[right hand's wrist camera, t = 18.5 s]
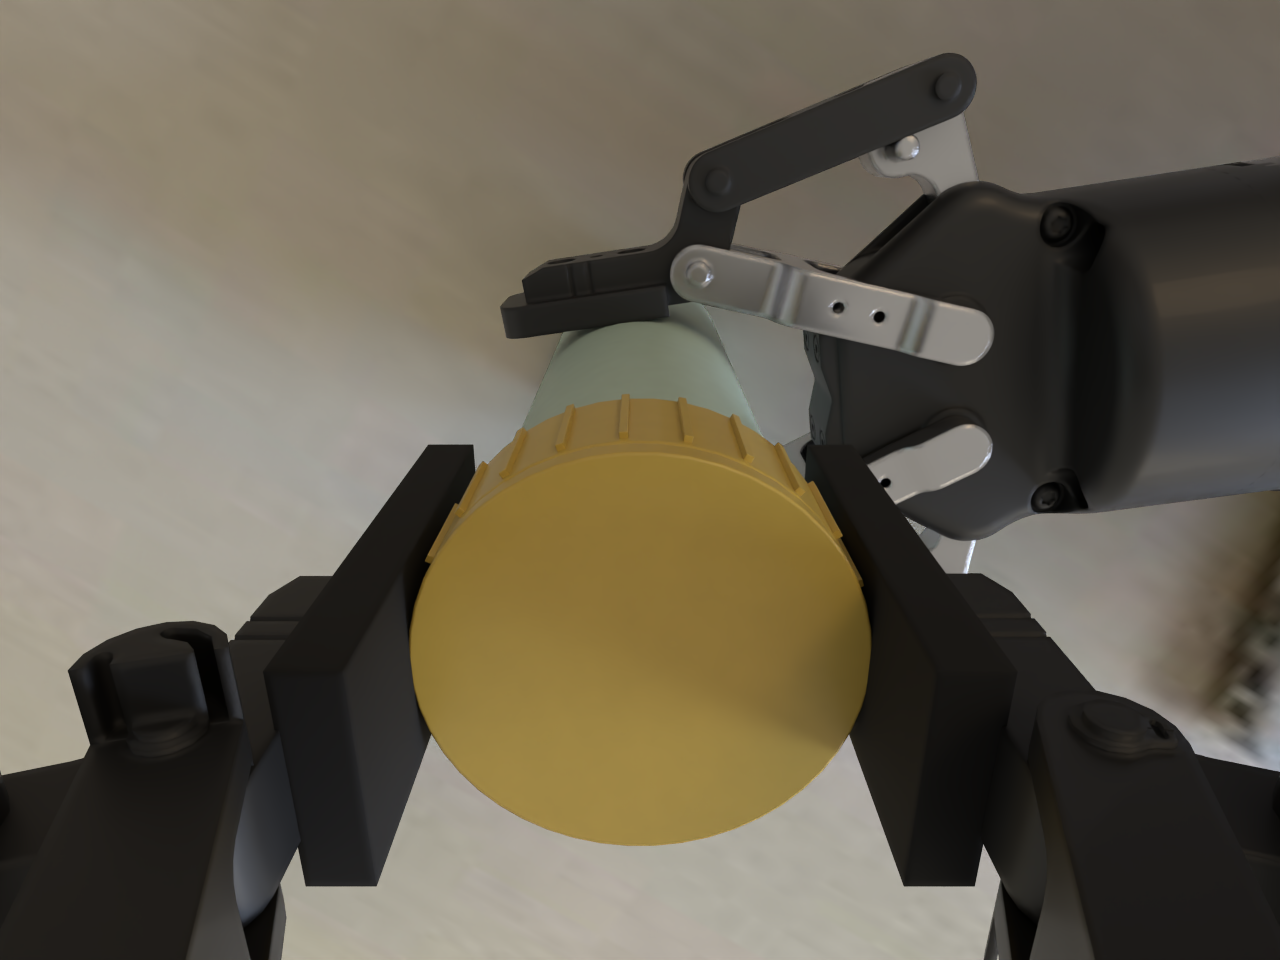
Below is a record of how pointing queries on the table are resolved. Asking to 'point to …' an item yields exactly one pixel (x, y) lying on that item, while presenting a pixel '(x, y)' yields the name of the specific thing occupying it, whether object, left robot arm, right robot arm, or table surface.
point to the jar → (643, 367)
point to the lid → (640, 626)
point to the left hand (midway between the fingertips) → (534, 429)
